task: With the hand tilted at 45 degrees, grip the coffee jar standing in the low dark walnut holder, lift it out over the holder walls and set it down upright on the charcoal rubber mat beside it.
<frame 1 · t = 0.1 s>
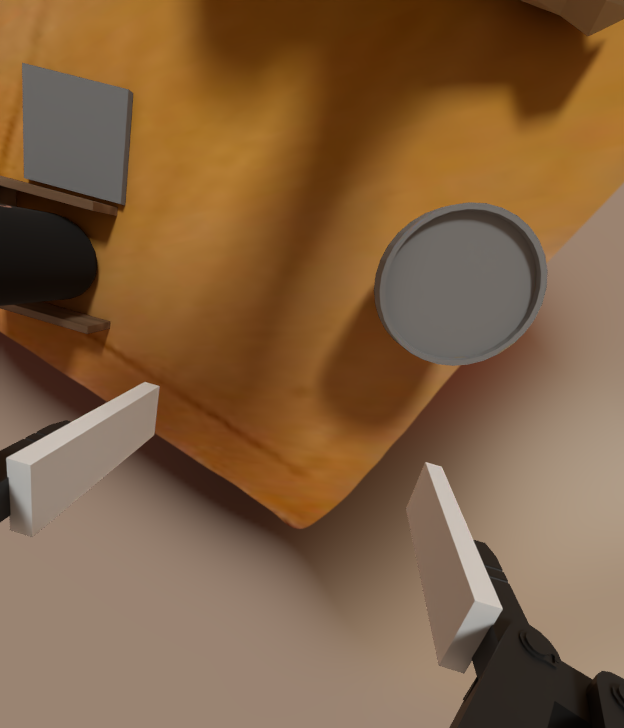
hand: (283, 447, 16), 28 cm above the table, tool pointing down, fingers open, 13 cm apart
charcoal mat: (78, 138, 40), on the table
coffee jar: (66, 257, 44), on the table
reusable coffee cup: (422, 281, 39), on the table
walnut holder: (65, 257, 44), on the table
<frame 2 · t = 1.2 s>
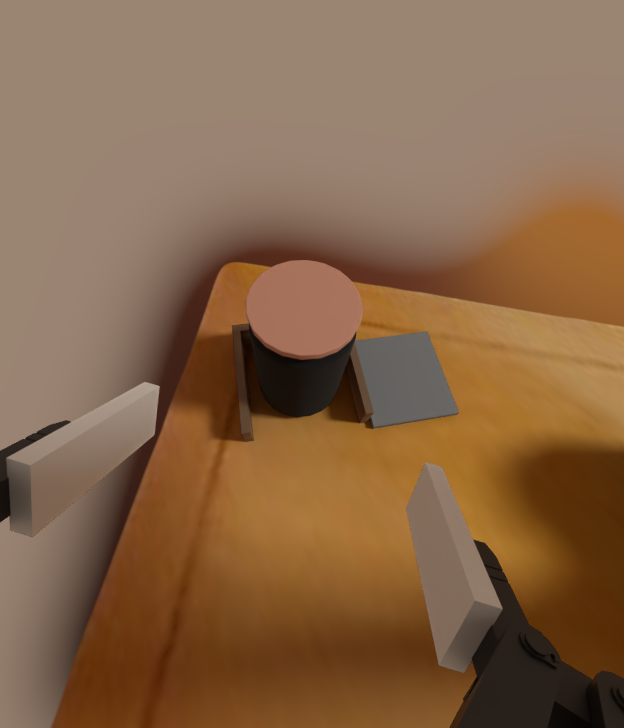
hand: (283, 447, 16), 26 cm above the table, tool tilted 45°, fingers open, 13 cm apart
charcoal mat: (400, 377, 47), on the table
coffee jar: (299, 383, 46), on the table
walnut holder: (299, 382, 46), on the table
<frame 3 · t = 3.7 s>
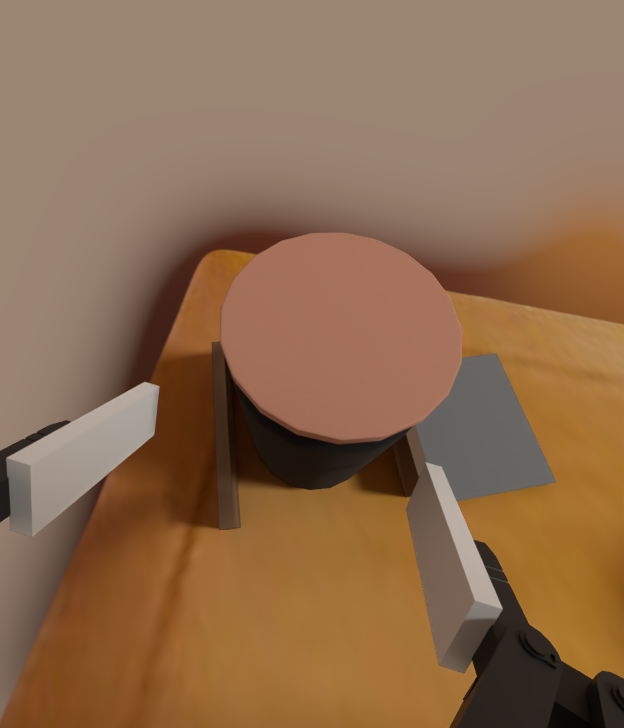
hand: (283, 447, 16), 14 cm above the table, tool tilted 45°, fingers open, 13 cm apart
charcoal mat: (462, 423, 32), on the table
coffee jar: (312, 430, 30), on the table
walnut holder: (312, 429, 30), on the table
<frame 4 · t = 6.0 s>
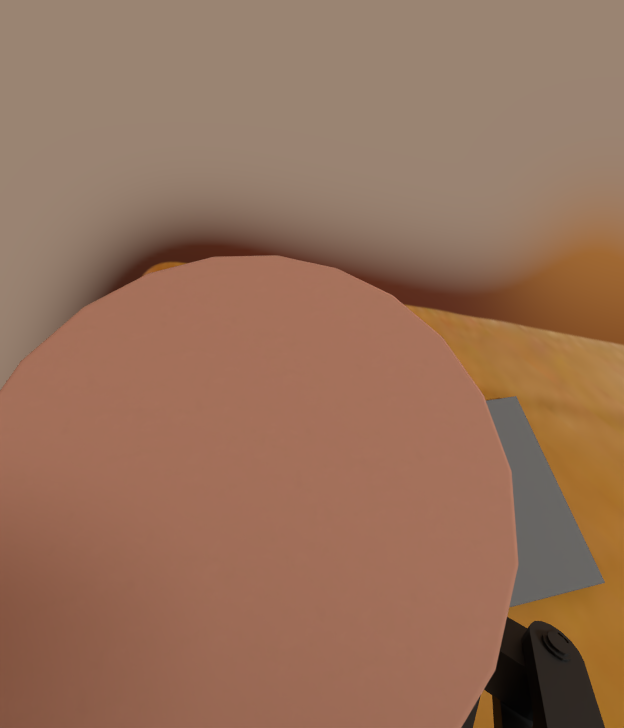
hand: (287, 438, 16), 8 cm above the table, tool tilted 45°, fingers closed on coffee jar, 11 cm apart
charcoal mat: (475, 494, 24), on the table
coffee jar: (273, 509, 23), on the table, touching gripper
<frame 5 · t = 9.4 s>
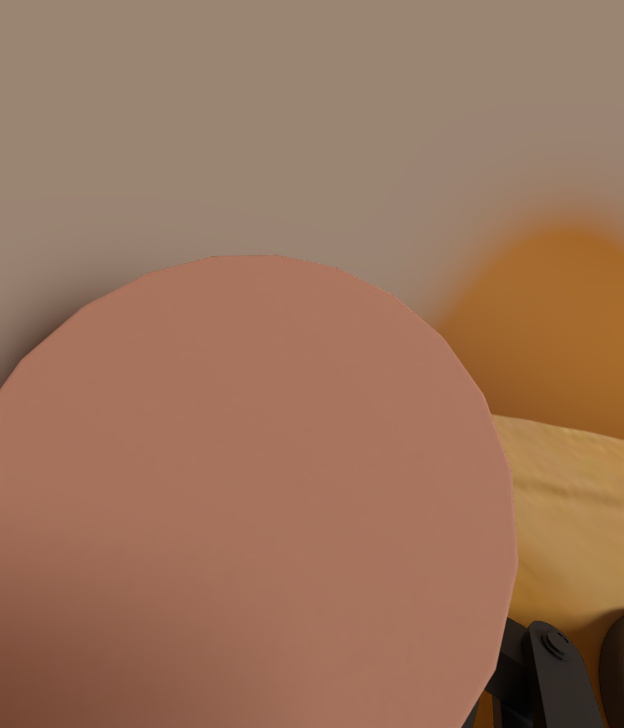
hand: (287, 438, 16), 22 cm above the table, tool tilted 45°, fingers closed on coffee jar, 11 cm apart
coffee jar: (273, 509, 23), point 13 cm above the table, touching gripper
when the fingers open (10 cm above the table, at t = 12.8 s): coffee jar drops 1 cm, resting on charcoal mat.
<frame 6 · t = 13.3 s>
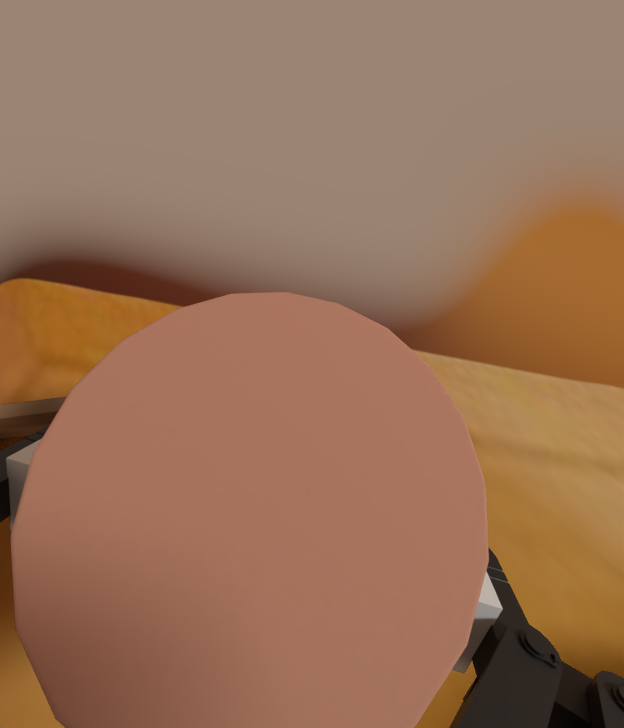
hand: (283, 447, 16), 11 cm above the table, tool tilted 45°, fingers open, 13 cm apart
coffee jar: (275, 512, 24), point 1 cm above the table, touching charcoal mat
walnut holder: (63, 526, 23), on the table
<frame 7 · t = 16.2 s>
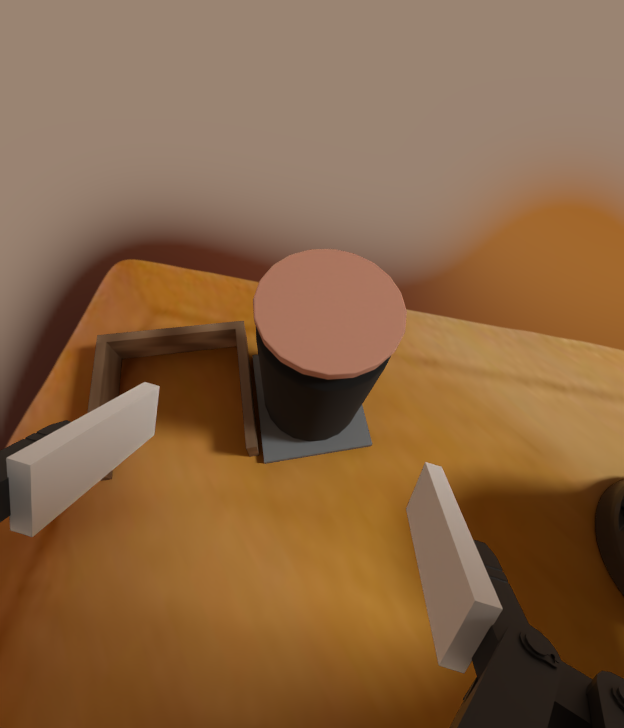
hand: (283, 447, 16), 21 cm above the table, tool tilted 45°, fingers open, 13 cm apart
charcoal mat: (308, 400, 39), on the table
coffee jar: (310, 399, 39), point 1 cm above the table, touching charcoal mat
walnut holder: (182, 405, 38), on the table
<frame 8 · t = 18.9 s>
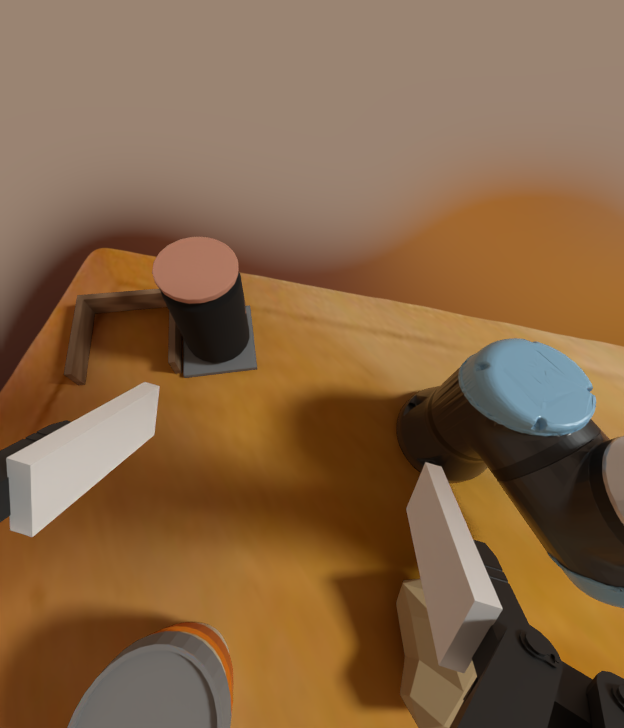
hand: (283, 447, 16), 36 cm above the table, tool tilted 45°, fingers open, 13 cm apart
low-poly potato: (418, 632, 42), on the table
charcoal mat: (219, 340, 59), on the table
coffee jar: (219, 339, 58), point 1 cm above the table, touching charcoal mat
reusable coffee cup: (191, 669, 39), on the table
walnut holder: (133, 342, 57), on the table
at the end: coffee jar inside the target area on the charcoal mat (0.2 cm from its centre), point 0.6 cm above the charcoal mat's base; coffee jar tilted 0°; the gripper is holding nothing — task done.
